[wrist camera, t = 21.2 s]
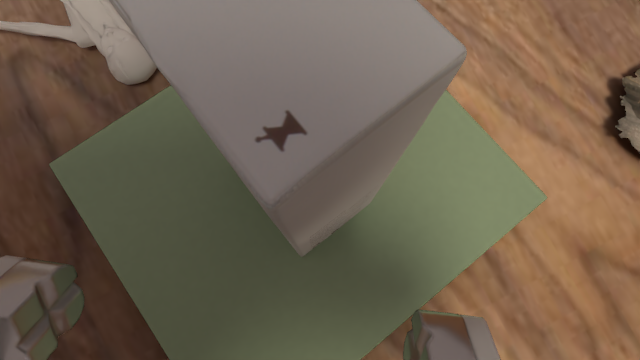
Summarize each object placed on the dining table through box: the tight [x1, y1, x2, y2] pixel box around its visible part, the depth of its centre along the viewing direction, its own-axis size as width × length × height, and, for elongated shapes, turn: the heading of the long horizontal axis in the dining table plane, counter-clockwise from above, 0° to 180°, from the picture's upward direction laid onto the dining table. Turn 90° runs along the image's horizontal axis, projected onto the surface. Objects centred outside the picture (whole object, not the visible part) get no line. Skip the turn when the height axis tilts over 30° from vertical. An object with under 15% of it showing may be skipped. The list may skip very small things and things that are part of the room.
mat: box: [49, 85, 547, 360], centre depth 18 cm, size 18×16×1 cm
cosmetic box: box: [109, 0, 467, 257], centre depth 12 cm, size 6×4×12 cm
